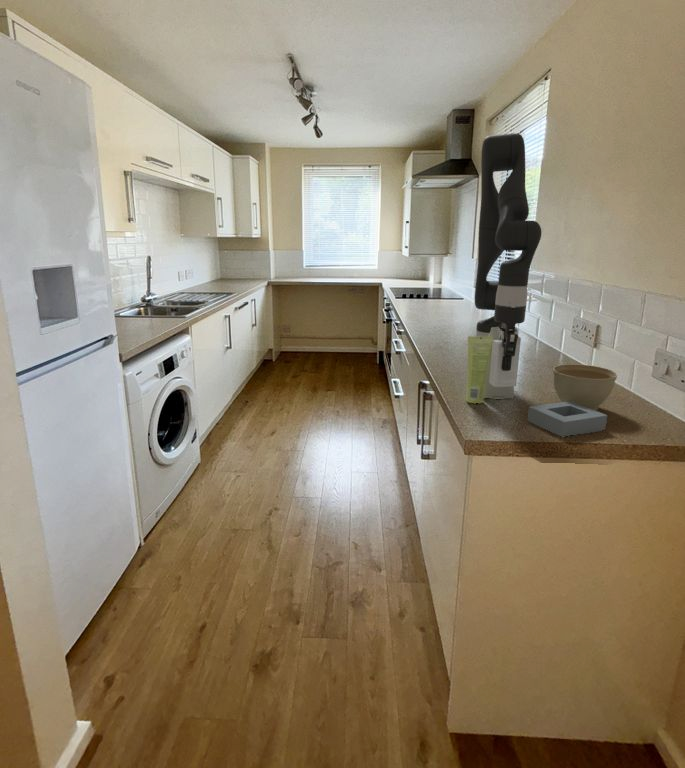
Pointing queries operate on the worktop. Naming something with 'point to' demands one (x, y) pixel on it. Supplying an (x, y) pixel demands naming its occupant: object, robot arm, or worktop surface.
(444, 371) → the worktop surface
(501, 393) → the tall pale column
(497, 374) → the skincare box
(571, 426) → the socket frame
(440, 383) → the worktop surface
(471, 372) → the tube
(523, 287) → the robot arm
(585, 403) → the planter bowl
